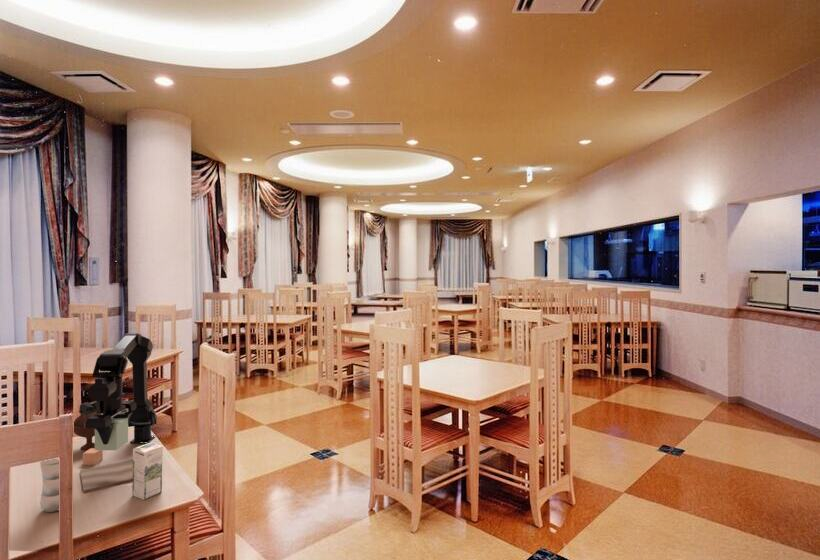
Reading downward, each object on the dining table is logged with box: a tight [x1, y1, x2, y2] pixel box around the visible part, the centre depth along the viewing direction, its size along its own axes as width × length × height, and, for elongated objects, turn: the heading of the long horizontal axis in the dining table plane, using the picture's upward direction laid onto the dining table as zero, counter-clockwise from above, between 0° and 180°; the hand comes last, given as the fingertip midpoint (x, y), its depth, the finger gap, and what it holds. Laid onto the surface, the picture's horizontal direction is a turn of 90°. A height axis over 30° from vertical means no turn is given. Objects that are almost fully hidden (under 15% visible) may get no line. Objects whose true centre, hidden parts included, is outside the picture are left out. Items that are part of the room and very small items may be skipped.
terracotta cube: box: [82, 448, 104, 466], centre depth 158 cm, size 4×4×4 cm
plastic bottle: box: [39, 459, 59, 513], centre depth 128 cm, size 6×7×20 cm
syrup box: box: [131, 441, 164, 501], centre depth 138 cm, size 6×6×14 cm
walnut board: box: [79, 458, 133, 493], centre depth 149 cm, size 16×16×1 cm
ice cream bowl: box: [73, 412, 103, 452], centre depth 169 cm, size 11×11×15 cm
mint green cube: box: [94, 418, 129, 451], centre depth 149 cm, size 7×7×8 cm
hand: (111, 439), depth 149 cm, fingers closed on mint green cube, 7 cm apart
